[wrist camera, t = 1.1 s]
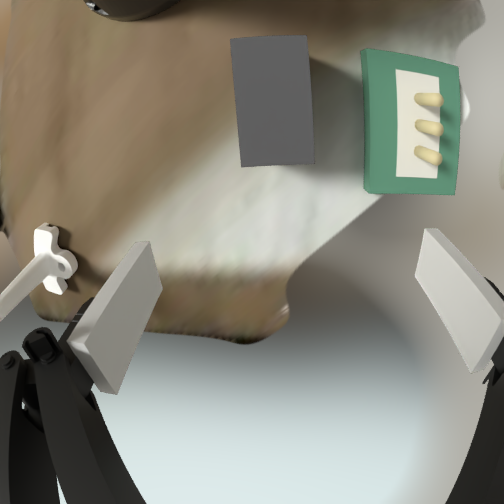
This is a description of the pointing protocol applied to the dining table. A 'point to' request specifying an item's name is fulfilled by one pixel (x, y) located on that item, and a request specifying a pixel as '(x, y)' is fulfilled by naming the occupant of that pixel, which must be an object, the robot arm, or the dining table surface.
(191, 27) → the dining table surface
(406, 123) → the board
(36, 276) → the joystick
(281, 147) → the block
